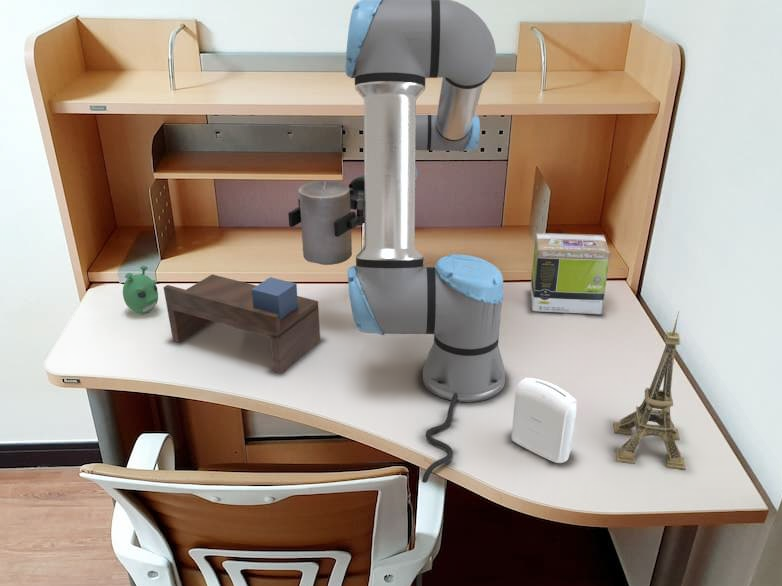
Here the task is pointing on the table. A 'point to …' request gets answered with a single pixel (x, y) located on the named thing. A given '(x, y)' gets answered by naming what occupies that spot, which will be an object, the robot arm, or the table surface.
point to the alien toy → (140, 292)
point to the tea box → (569, 273)
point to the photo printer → (544, 419)
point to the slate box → (275, 296)
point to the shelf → (243, 316)
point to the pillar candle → (324, 222)
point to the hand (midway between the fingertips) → (313, 224)
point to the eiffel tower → (654, 412)
